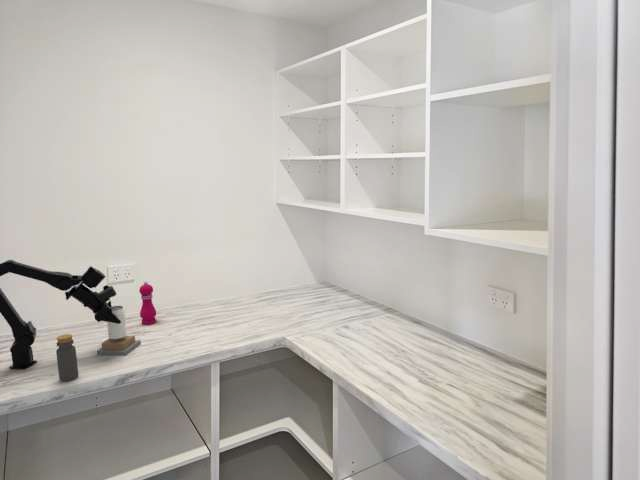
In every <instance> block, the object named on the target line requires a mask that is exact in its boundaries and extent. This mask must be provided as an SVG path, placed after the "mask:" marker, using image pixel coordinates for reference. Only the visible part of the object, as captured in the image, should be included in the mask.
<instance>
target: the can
mask: <svg viewBox="0 0 640 480" xmlns="http://www.w3.org/2000/svg"><path fill="white" fill-rule="evenodd" d="M111 306H112V305H111ZM112 313H113V314H114V315H115V316H116V317H117V318H118V319H119V320H120V321H121V323H120V324H117V323H112V322H107V332H108V333H107V334H108V339H109V338H110V339H121V338H124V337H125V336H127V328H126V314H125V310H124V308H123V306H122V305H114V306H112Z"/></svg>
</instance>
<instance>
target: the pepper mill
mask: <svg viewBox="0 0 640 480" xmlns="http://www.w3.org/2000/svg"><path fill="white" fill-rule="evenodd" d="M138 290H139V294H140V299H141V301H142V303H141V308H140V311H139V317H140V318H141V324H142V325H143V326H148V325H154V324H156V322H157V319H156V316H157V310H156V308H155V306H154V304H153V292H154V287H153V286H152V285H151V284H149V283H148V281H146V280H145V281H143V284H142V285H141V286H140V287H139V289H138Z"/></svg>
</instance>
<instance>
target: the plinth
mask: <svg viewBox="0 0 640 480" xmlns="http://www.w3.org/2000/svg"><path fill="white" fill-rule="evenodd" d="M140 345H141V340H140V339H139V340H138V339H136V336H135V335H126V336H125V337H124V338H121V339H110V338H109V337H108V338H107V339H106V340H104V341H103V342H101V347H100V348H99V349H97V350H95V351H96V353H95V354H96V355H98V356H127V355H128V354H129V353H131V352H132V351H134V350H135V349H136V348H137V347H139V346H140Z"/></svg>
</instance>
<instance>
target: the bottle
mask: <svg viewBox="0 0 640 480" xmlns="http://www.w3.org/2000/svg"><path fill="white" fill-rule="evenodd" d="M56 340H57V342H56V347H58V348H56V351H55V352H56V353H55V354H56V361H57V372H58V378H59V381H60V380H61V381H60V382H69V380H70V381H73V380H76V379H77V378H79V368H78V360H77V351H76V346H75V345H73V344H74V342H75V341H74V339H73V334H71V333H70V334H68V333H67V334H60V335H58V336H57V337H56ZM75 378H76V379H75Z"/></svg>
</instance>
